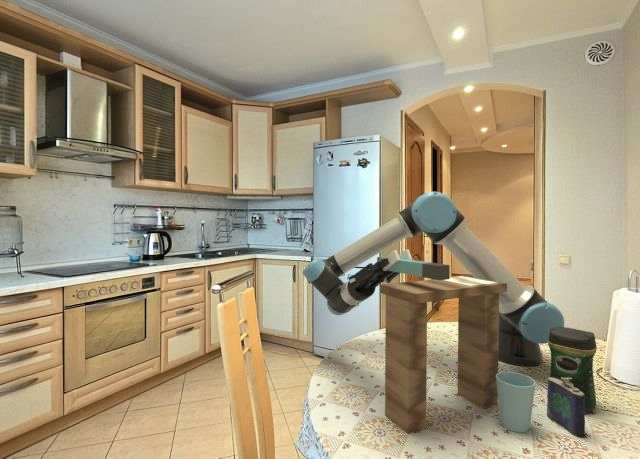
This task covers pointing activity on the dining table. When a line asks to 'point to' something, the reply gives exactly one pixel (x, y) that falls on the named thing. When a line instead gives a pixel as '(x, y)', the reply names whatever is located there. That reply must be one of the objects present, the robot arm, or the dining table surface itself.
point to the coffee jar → (574, 360)
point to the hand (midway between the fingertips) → (403, 254)
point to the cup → (515, 400)
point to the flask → (566, 405)
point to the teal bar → (420, 269)
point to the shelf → (411, 344)
